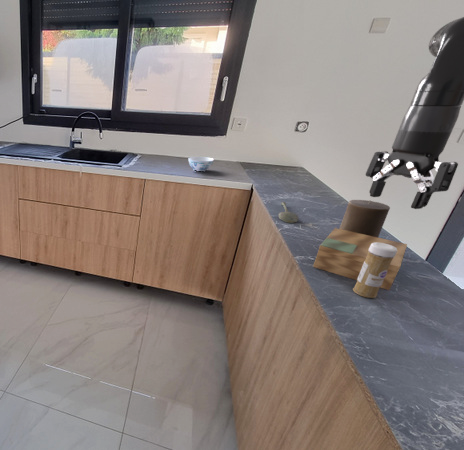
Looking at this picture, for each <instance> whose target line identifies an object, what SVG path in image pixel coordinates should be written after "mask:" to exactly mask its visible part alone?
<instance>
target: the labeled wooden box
mask: <svg viewBox="0 0 464 450" xmlns="http://www.w3.org/2000/svg"><path fill="white" fill-rule="evenodd" d="M375 242H378V243H385V244H389V245H392V246H394V247H396V248H397V253H396V255H395V257H394V258H393V259H392V261H391V263H390V266H389V268H388V270H387V274H386V276H385V278H384V280H383V283H382V285H381V286H380V288H379V289H384V290H387V291H390V290H391V288H392V286H393V284H394V282H395V279H396V277H397V275H398V273H399V270H400V269H401V266H402V263H403V259H404V257H405V253H406V250H407V247H408V244H407V243H404V242H398V241H395V240H390V239H387V238H386V239H385V238H382V237H378V238H377V237H373V236H369V235H364V234H360V233H355V232H351V231H347V230H342V229H339V228H337V227H334V228H333V230H332V231H331V232H330V233H329V235H328V236H326V238H325V239H324V240H323V241H322V242H321V244H320V245H319V248H318V251H317V254H316V257H315V260H314V262H313V266H312V267H313V268H316V269H319V270H322V271H325V272H328V273H331V274H335V275H337V276H341V277H344V278H347V279H351V280H354V281H357V278H358V276H359V273H360V271H361V269H362V266H363V264H364V261H365V260H366V257H367V255H368V253H369V252H368V251H369V248H370V245H371V244H372V243H375Z"/></svg>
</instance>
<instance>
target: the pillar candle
mask: <svg viewBox="0 0 464 450" xmlns="http://www.w3.org/2000/svg"><path fill="white" fill-rule="evenodd" d="M390 209H391V207H390V206H389V205H388V204H385V203H382V202H378V201H374V200H365V199H350V200H349V201H348V203H347V207H346V209H345V212H344V215H343V217H342V220H341V223H340V225H339V228H338V229H342V230H347V231H351V232H355V233H360V234H364V235H369V236H373V237H377V238H380V237H379V236H380V234H381V231H382V230H383V227H384V224H385V221H386V219H387V216H388V214H389V212H390Z"/></svg>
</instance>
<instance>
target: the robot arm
mask: <svg viewBox="0 0 464 450" xmlns="http://www.w3.org/2000/svg"><path fill="white" fill-rule="evenodd" d="M428 51H429V53H430V55H432V56H433V57H434V61H433V62H432V65H431V67H430V69H429V71H428V73H427V74H425V76H424V77H422V78H421V79H420V81H419V83H418V85H417V86H416V89H415V90H414V93H413V96H412V99H411V101H410V104H409V107H408V108H407V110H406V111H405V114H404V115H403V118H402V120H401V123H400V125H399V128H398V130H397V133H396V136H395V138H394V141H393V143H392V146H391V149H392V151H391V152H389V151H386V150H385V151H384V150H383V151H376V152H374V154H373V155H372V158H371V160H370V163H369V165H368V167H367V170H366V171H365V176H366V177H367V178H368V177H369V178H371V179H372V183H371V186H370V189H369V192H368V193H369V197H371V198H379V197H381V196H382V194H383V191H384V189H385V186H386V184H387V181H386V180H388V179H389V178H391V177H392V176H402V177H405V178H408V179H412V181H413V182H414V183H415V184H416V186H417V188H418V191H416V194H415V196H414V198H413V200H412V203H411V205H410V208H411V209H414V210H420V209H421V210H422V209H423V208H425V207H427V206H428V204H429V202H430V200H431V197H432V195H433V194H434V193H441V192H447V191H449V190H450V186H451V184H452V181H453V179H454V176H455V174H456V172H457V168H458V166H459V163H458V162H457V161H440V155H441V154H442V153H443V152H444V150H445V148H446V145H447V143H448V141H449V139H450V137H451V134H452V132H453V130H454V128H455V126H456V124H457V121H458V119H459V116H460V111H461V108H462V105H463V103H464V16H462V17H460V18H457V19H454V20H452V21H450V22H448V23H446V24H445V25H443V26H442V27H440V28H438V30H437V31H436V32H435V33H434V34H433V35H432V37H431V38H430V40H429V42H428ZM387 161H388V165H386V166H385V163H386V162H387ZM384 166H385V167H384ZM434 169H435V170H434ZM432 170H434V171H435V172H436V174H435V176H434V174H433V172H432Z"/></svg>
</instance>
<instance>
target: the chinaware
mask: <svg viewBox="0 0 464 450" xmlns="http://www.w3.org/2000/svg"><path fill="white" fill-rule="evenodd" d="M187 159H188V164H189V166H190V167H191V169H193V171H194V170H197V171H204V172H206V170H208V169H209V168H210V167H212V165H213V163H214V161H215V159H214V158H212V157H208V156H190V157H188V158H187Z"/></svg>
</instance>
